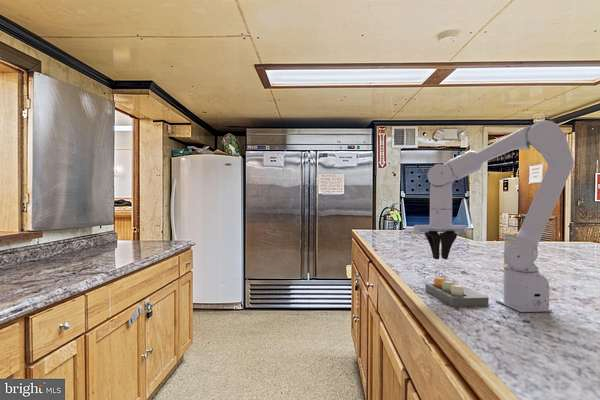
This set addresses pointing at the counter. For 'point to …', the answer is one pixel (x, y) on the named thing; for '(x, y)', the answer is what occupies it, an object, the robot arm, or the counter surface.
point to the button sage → (447, 286)
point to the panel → (458, 297)
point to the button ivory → (457, 290)
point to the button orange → (438, 281)
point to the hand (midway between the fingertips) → (440, 258)
